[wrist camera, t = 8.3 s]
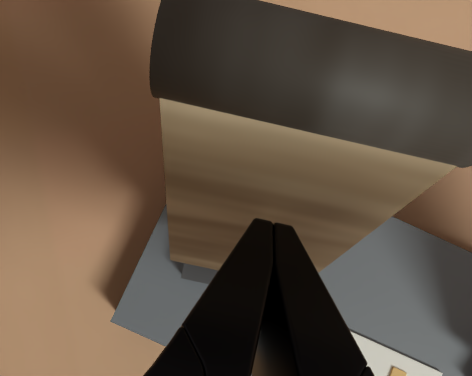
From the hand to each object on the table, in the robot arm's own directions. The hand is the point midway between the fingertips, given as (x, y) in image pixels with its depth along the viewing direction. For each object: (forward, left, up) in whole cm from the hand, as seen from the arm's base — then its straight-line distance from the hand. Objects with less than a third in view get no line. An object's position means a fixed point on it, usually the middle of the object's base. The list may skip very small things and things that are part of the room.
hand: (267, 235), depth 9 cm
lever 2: (-1, -1, -8) cm, 8 cm away
